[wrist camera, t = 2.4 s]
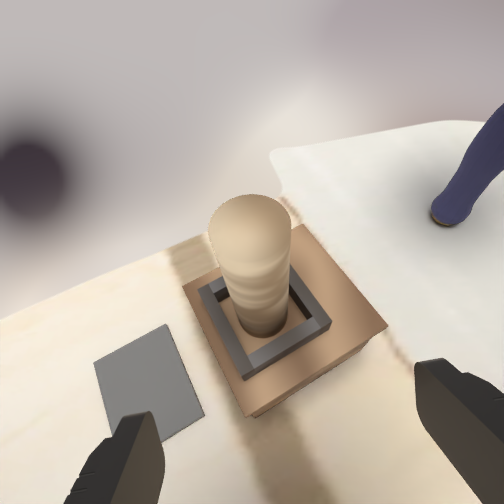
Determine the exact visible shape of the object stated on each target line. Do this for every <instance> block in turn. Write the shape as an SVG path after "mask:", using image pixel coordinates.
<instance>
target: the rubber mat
mask: <svg viewBox="0 0 504 504" xmlns="http://www.w3.org/2000/svg"><path fill="white" fill-rule="evenodd" d="M94 367H95V371H96V375H97V379H98V383H99V386H100V390H101V394H102V398H103V402H104V406H105V410H106V414H107V418H108V421H109V425H110V429H111V433H112V437H113V434H114V432H115V430H116V428H117V426H118V424H119V422H120V420H121V418H122V417H123V416H125V415H130V414H135V413H141V412H146V411H150V412H151V413H152V414H153V417H154V420H155V423H156V427H157V430H158V434H159V437H160V441H161V443H162V442H163V441H165V440H166V439H168V438H170V437H171V436H173V435H174V434H176V433H178V432H179V431H181V430H183V429H184V428H186V427H187V426H189V425H191V424H192V423H194V422H195V421H197V420H199V419H200V418H202V417H204V416H205V415H204V412H203V410H202V407H201V405H200V403H199V400H198V398H197V395H196V393H195V391H194V388H193V386H192V383H191V381H190V379H189V376H188V374H187V371H186V369H185V367H184V364H183V362H182V359H181V357H180V355H179V352H178V350H177V347H176V345H175V343H174V340H173V338H172V335H171V333H170V331H169V328H168V326H167V325H166V324H164V325H162V326H160V327H158V328H157V329H155V330H153V331H151V332H149V333H147V334H145V335H144V336H142V337H140V338H138V339H136V340H134V341H133V342H131V343H129V344H127V345H125V346H123V347H121V348H120V349H118V350H116V351H114V352H112V353H110V354H108V355H107V356H105V357H103V358H101V359H99V360H97V361H95V362H94Z"/></svg>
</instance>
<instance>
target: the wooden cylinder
mask: <svg viewBox="0 0 504 504" xmlns="http://www.w3.org/2000/svg"><path fill="white" fill-rule="evenodd" d="M208 234H209V239H210V242H211V244H212V247H213V250H214V253H215V256H216V258H217V261H218V264H219V267H220V269H221V272H222V275H223V278H224V281H225V283H226V286H227V289H228V292H229V294H230V297H231V300H232V303H233V306H234V308H235V311H236V314H237V317H238V319H239V322H240V325H241V327H242V328H243V329H244V331H245V332H247V333H248V334H249V335H251V336H253V337H256V338H270V337H273V336H275V335H276V334H278V333H279V332H280V331H281V330H282V329H283V328H284V326H285V324H286V322H287V317H288V294H289V269H290V244H291V220H290V217H289V214H288V212H287V211H286V209H285V208H284V207H283V206H282V205H281V204H280V203H279V202H277V201H276V200H274V199H272V198H269V197H266V196H263V195H254V194H249V195H242V196H238V197H235V198H232V199H230V200H228V201H227V202H225V203H223V204H222V205H221V206H220V207H219V208H218V209H217V210H216V211H215V212H214V214H213V215H212V217H211V219H210V222H209V227H208Z"/></svg>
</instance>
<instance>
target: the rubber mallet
mask: <svg viewBox="0 0 504 504" xmlns="http://www.w3.org/2000/svg"><path fill="white" fill-rule="evenodd" d="M503 170H504V104H503V105H501V106H500V107H499V108H498V109H497V110H496V111H495V112H494V114H493V115H492V116H491V117H490V118H489V120H488V121H487V122H486V123H485V125H484V126H483V127H482V129H481V130H480V131H479V133H478V134H477V135H476V137H475V138H474V140H473V141H472V143H471V144H470V146H469V147H468V149H467V151H466V153H465V155H464V157H463V160H462V162H461V164H460V166H459V168H458V170H457V172H456V173H455V175H454V176H453V178H452V179H451V181H450V182H449V184H448V185H447V187H446V188H445V190H444V191H443V192H442V193H441V194H440V195H439V196H438V197H437V198H436V199H435V200H434V201H433V203H432V206H431V209H432V217H433V219H434V220H435V221H436V222H438V223H440V224H442V225H452V224H457V223H460V222H462V221H464V220H465V219H466V218H467V216H468V215H469V214H470V212H471V210H472V207H473V205H474V203H475V201H476V200H477V199H478V197H479V196H480V195H481V194H482V192H483V191H484V190H485V188H486V187H487V186H488V185H489V183H490V182H491V181H492V180H493V179H494V178H495V177H496V176H497V175H498V174H499V173H500V172H502V171H503Z"/></svg>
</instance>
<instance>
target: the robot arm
mask: <svg viewBox="0 0 504 504" xmlns="http://www.w3.org/2000/svg"><path fill="white" fill-rule="evenodd" d="M414 375H415V392H416V407H417V411H418V415H419V417H420V420H421V422H422V424H423V426H424V427H425V429H426V430H427V432H428V433H429V434H430V436H431V437H432V438H433V440H434V441H435V442H436V444H437V445H438V446H439V447H440V449H441V450H442V451H443V453H444V454H445V455H446V457H447V458H448V459H449V460H450V462H451V463H452V464H453V466H454V467H455V468H456V470H457V471H458V472H459V474H460V475H461V476H462V477H463V479H464V480H465V481H466V483H467V484H468V485H469V487H470V488H471V489H472V490H473V492H474V493H475V494H476V496H477V497H478V498H479V500H480V501H481V502H482V504H504V394H503V393H502V392H501V391H500V390H498V389H497V388H496V387H494V386H493V385H492V384H491V383H489V382H487V381H485V380H483V379H481V378H479V377H477V376H475V375H473V374H470V373H468V372H467V373H461V372H460V371H459V370H458V369H456V368H455V367H454V366H453V365H452V364H451V363H449V362H448V361H447V360H446V359H444V358H438V359H433V360H427V361H422V362H417V363H416V364H415V366H414ZM164 473H165V456H164V451H163V447H162V444H161V441H160V437H159V434H158V430H157V427H156V423H155V420H154V417H153V414H152V413H151V412H150V411H146V412H141V413H135V414H130V415H125V416H123V417H122V418H121V420H120V422H119V424H118V426H117V428H116V430H115V432H114V434H113V437H111V438H105V439H104V440H103V441H102V442H101V443H100V445H99V446H98V447H97V448H96V449H95V450H94V451H93V452H92V453H91V454H90V455H89V457H88V459H87V461H86V463H85V465H84V466H83V468H82V470H81V472H80V474H79V478H77V479H76V481H75V483H74V485H73V487H72V489H71V493H70V495H68V496H67V498H66V500H65V502H64V504H157V503H158V499H159V495H160V491H161V487H162V483H163V479H164Z"/></svg>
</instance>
